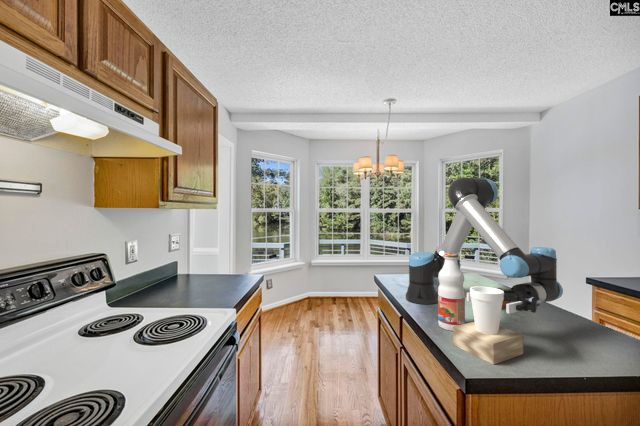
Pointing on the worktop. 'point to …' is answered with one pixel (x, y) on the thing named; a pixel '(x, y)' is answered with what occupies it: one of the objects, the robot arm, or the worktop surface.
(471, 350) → the maple block
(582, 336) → the worktop surface
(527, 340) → the worktop surface
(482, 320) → the foam cup
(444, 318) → the fruit juice
